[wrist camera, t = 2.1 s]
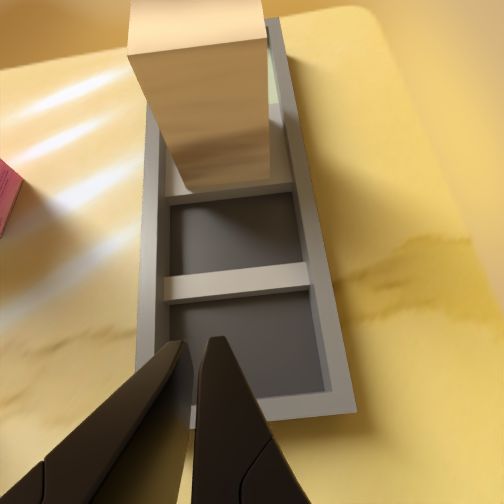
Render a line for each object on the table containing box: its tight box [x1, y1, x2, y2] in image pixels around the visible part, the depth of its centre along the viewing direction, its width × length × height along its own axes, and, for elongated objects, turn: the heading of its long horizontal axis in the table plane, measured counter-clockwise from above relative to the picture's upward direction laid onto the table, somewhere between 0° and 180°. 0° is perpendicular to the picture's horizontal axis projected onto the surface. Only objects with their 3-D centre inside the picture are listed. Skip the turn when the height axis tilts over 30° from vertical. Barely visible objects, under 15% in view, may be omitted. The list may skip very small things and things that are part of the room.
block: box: [127, 0, 270, 188], centre depth 19 cm, size 6×6×10 cm
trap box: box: [135, 17, 357, 429], centre depth 23 cm, size 30×11×3 cm, turn 5°
